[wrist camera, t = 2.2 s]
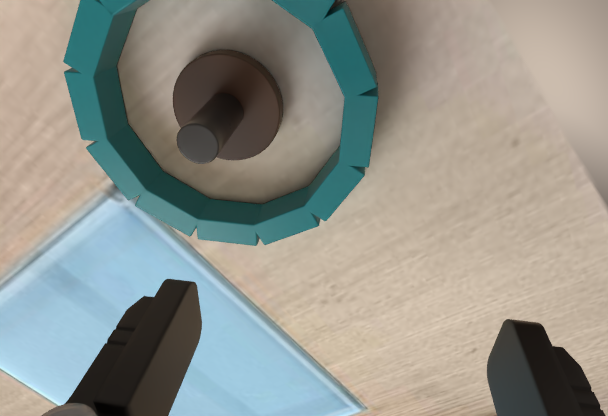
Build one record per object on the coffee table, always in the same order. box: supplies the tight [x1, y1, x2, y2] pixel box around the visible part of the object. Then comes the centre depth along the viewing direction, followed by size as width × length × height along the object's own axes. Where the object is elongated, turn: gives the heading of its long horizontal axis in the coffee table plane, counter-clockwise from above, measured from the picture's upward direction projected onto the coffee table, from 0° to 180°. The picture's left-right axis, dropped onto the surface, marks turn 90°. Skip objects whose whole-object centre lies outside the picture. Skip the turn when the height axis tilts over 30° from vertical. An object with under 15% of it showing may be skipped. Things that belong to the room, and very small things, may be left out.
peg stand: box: [173, 50, 283, 164], centre depth 22 cm, size 6×6×6 cm
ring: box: [63, 0, 378, 246], centre depth 23 cm, size 16×16×2 cm
